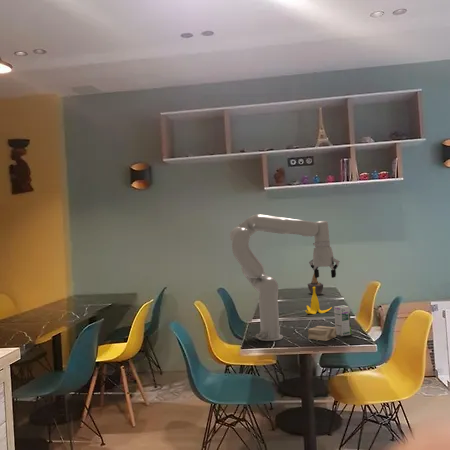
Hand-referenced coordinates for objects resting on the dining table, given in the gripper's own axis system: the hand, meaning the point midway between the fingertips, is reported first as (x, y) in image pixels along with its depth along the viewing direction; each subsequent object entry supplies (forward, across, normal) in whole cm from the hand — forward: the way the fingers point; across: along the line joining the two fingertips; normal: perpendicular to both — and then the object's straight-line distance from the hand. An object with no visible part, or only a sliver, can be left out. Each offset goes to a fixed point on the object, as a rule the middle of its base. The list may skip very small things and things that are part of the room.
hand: (325, 277), depth 269 cm
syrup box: (+29, +8, -1) cm, 30 cm away
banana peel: (+30, -35, +50) cm, 68 cm away
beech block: (+29, +2, -12) cm, 32 cm away
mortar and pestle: (+31, -78, +121) cm, 147 cm away
